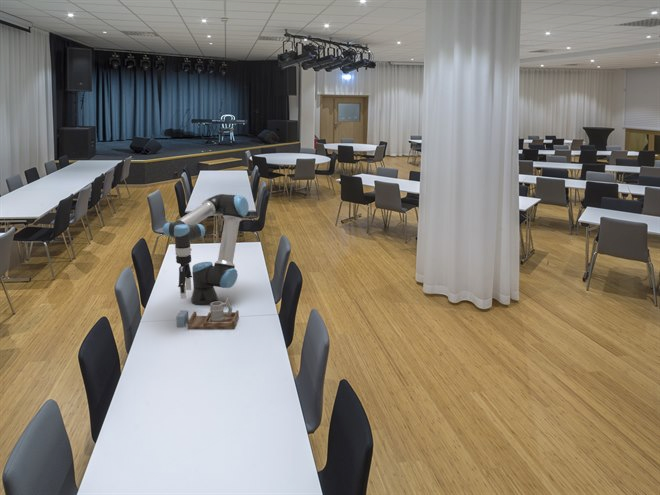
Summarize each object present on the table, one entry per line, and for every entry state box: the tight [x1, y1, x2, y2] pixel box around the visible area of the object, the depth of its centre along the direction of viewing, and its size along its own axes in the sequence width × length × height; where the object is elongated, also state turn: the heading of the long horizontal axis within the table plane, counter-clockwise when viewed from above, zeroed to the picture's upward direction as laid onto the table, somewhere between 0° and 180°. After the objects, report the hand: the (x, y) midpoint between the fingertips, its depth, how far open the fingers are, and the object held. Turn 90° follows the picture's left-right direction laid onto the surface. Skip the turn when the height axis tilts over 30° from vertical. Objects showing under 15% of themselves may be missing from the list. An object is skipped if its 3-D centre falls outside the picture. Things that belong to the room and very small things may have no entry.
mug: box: [209, 297, 233, 322], centre depth 290 cm, size 8×12×12 cm, turn 110°
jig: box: [187, 310, 240, 330], centre depth 290 cm, size 24×15×4 cm, turn 91°
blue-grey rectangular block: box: [175, 309, 190, 328], centre depth 290 cm, size 9×4×6 cm, turn 1°
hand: (186, 294), depth 287 cm, fingers open, 13 cm apart
